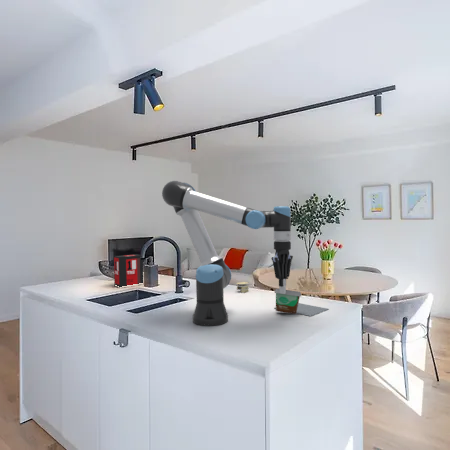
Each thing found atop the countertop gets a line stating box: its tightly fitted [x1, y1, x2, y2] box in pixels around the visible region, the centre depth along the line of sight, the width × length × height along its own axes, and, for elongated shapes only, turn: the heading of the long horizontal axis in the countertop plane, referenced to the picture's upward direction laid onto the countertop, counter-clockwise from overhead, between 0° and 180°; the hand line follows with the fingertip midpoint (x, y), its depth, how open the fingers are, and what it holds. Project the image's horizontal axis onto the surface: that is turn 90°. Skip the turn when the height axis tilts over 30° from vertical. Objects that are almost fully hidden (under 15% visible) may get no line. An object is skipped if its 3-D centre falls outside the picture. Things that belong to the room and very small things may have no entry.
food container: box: [274, 288, 302, 315], centre depth 160 cm, size 12×6×10 cm, turn 72°
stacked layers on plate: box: [236, 281, 249, 294], centre depth 210 cm, size 10×9×6 cm
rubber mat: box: [273, 302, 330, 317], centre depth 168 cm, size 16×20×1 cm
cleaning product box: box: [113, 253, 144, 287], centre depth 236 cm, size 16×9×20 cm, turn 130°
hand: (282, 293), depth 158 cm, fingers closed
